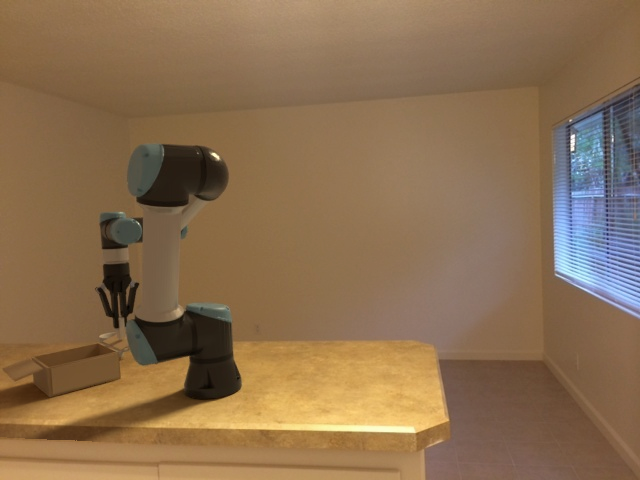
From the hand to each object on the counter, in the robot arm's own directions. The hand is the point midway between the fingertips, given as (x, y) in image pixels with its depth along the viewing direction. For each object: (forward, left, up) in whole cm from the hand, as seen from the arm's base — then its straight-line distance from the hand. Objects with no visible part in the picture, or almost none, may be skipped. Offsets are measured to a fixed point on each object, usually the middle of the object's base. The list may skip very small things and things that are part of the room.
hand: (121, 338), depth 153 cm
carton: (0, +14, -10) cm, 17 cm away
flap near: (0, +24, -2) cm, 24 cm away
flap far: (0, +3, -2) cm, 4 cm away
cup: (+14, -4, -10) cm, 18 cm away
